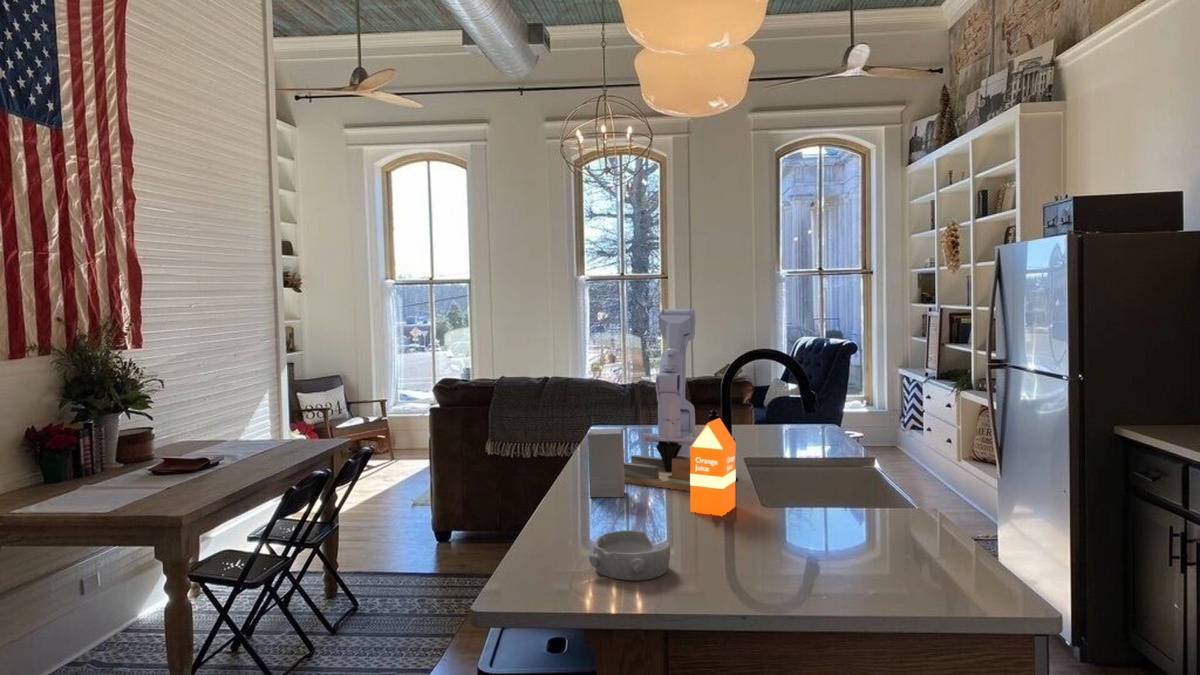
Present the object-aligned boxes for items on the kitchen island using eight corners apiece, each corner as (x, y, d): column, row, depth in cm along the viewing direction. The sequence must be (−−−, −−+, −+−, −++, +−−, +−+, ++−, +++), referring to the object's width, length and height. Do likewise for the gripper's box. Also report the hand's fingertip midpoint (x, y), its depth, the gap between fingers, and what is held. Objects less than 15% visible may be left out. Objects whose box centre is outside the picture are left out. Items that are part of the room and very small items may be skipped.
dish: (624, 551, 148) (624, 525, 147) (686, 567, 139) (686, 539, 139) (573, 572, 136) (573, 544, 136) (637, 591, 128) (637, 560, 127)
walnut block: (681, 473, 204) (681, 454, 203) (699, 475, 201) (699, 456, 201) (671, 478, 198) (671, 458, 198) (690, 480, 196) (690, 460, 196)
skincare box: (625, 491, 192) (624, 427, 191) (623, 499, 185) (622, 432, 184) (590, 491, 192) (590, 427, 192) (587, 498, 185) (587, 432, 185)
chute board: (630, 469, 216) (630, 453, 216) (711, 479, 204) (711, 462, 203) (604, 480, 204) (604, 463, 203) (689, 491, 192) (689, 473, 191)
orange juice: (689, 511, 174) (689, 422, 173) (703, 502, 181) (703, 416, 180) (723, 516, 170) (723, 424, 169) (736, 506, 178) (736, 418, 177)
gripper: (636, 418, 201) (637, 471, 202) (688, 423, 194) (688, 477, 195) (649, 415, 208) (649, 466, 208) (700, 419, 200) (700, 472, 201)
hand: (669, 471), depth 202 cm, fingers closed
